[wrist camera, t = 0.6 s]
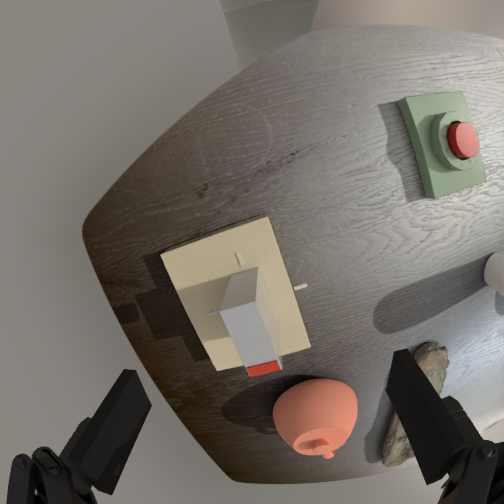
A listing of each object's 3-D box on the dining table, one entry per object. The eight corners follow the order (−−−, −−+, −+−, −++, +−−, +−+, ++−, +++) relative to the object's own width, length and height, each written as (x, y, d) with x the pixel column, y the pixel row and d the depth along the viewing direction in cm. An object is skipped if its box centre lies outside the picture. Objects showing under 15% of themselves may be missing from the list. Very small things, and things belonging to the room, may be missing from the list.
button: (442, 125, 22) (451, 123, 20) (464, 121, 22) (473, 120, 20) (452, 160, 23) (461, 160, 21) (473, 154, 22) (482, 154, 21)
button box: (397, 101, 25) (412, 93, 21) (453, 94, 24) (470, 88, 20) (425, 197, 28) (443, 201, 24) (476, 180, 26) (495, 182, 23)
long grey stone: (450, 328, 34) (397, 341, 35) (465, 343, 29) (409, 360, 30) (413, 452, 41) (373, 463, 42) (418, 468, 36) (377, 480, 37)
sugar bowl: (344, 357, 34) (363, 410, 24) (359, 413, 37) (373, 459, 28) (260, 383, 36) (258, 439, 26) (289, 434, 39) (292, 481, 29)
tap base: (169, 247, 31) (159, 255, 28) (281, 207, 29) (283, 211, 26) (220, 357, 35) (216, 371, 32) (320, 330, 33) (324, 344, 30)
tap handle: (231, 275, 28) (218, 313, 20) (258, 266, 28) (255, 302, 20) (253, 330, 30) (249, 379, 22) (279, 323, 30) (283, 371, 22)
